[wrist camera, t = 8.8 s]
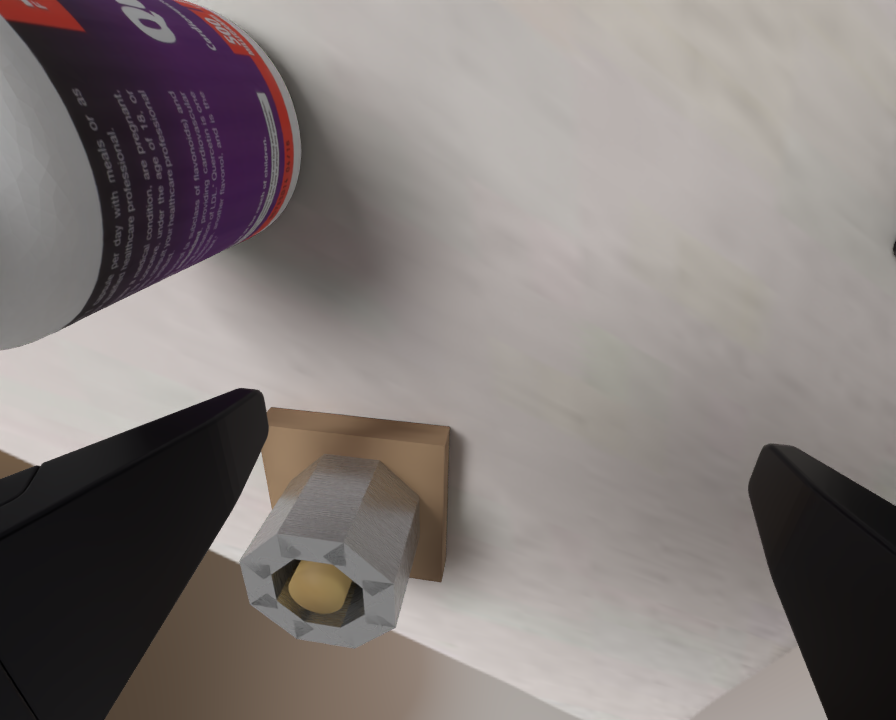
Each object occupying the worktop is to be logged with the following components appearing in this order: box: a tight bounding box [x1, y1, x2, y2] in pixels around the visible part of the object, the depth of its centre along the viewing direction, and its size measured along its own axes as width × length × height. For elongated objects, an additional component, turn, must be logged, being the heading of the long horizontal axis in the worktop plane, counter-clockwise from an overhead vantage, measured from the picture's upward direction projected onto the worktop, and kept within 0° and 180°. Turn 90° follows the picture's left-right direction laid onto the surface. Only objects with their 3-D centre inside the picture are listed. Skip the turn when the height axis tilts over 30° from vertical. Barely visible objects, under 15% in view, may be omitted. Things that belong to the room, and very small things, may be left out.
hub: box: [240, 454, 420, 648], centre depth 23 cm, size 6×6×5 cm
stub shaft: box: [261, 407, 450, 614], centre depth 24 cm, size 9×9×6 cm
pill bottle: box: [0, 0, 301, 350], centre depth 13 cm, size 8×8×14 cm
